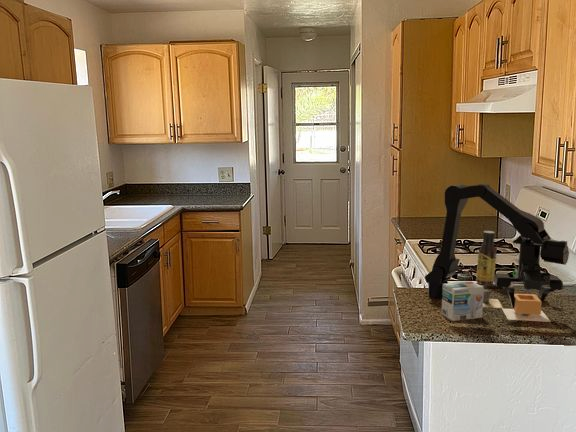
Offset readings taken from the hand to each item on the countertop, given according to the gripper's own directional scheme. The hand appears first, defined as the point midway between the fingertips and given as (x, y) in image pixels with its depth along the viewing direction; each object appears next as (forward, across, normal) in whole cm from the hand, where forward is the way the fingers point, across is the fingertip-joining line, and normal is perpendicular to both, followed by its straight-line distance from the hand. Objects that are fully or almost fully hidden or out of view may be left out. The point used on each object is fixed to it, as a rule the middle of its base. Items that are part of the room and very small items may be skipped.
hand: (525, 308), depth 169 cm
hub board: (+3, 0, 0) cm, 3 cm away
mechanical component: (+3, +5, +19) cm, 20 cm away
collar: (0, 0, 0) cm, 0 cm away
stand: (+3, -10, +10) cm, 14 cm away
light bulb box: (+3, -19, -4) cm, 20 cm away
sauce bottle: (+3, -6, +36) cm, 37 cm away
